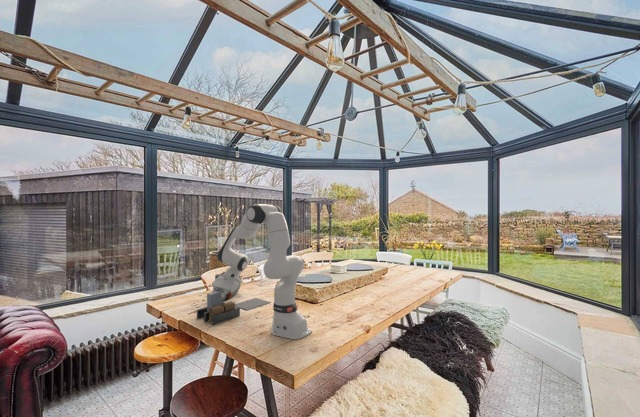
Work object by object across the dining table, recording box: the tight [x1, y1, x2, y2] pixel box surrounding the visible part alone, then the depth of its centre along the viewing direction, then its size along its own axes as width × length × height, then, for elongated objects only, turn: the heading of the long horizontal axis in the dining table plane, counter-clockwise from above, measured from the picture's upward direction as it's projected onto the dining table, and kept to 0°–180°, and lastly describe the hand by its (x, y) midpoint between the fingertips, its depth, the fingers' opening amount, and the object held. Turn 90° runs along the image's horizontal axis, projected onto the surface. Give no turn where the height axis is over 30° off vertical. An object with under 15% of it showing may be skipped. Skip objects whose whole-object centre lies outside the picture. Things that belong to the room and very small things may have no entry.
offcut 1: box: [208, 305, 224, 324], centre depth 170 cm, size 4×7×8 cm, turn 142°
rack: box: [196, 302, 241, 326], centre depth 175 cm, size 17×18×5 cm
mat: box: [235, 297, 272, 311], centre depth 200 cm, size 16×20×1 cm
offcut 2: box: [221, 301, 236, 312], centre depth 176 cm, size 4×7×8 cm, turn 142°
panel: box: [206, 291, 224, 312], centre depth 178 cm, size 4×8×14 cm, turn 142°
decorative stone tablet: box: [214, 271, 242, 301], centre depth 214 cm, size 19×6×30 cm
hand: (216, 295), depth 179 cm, fingers open, 8 cm apart
